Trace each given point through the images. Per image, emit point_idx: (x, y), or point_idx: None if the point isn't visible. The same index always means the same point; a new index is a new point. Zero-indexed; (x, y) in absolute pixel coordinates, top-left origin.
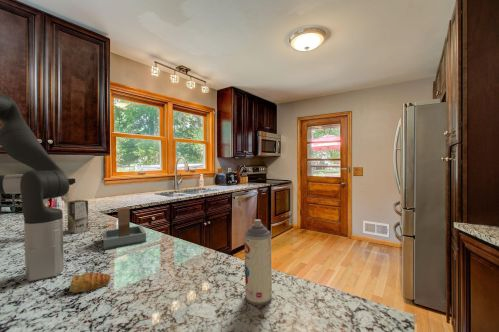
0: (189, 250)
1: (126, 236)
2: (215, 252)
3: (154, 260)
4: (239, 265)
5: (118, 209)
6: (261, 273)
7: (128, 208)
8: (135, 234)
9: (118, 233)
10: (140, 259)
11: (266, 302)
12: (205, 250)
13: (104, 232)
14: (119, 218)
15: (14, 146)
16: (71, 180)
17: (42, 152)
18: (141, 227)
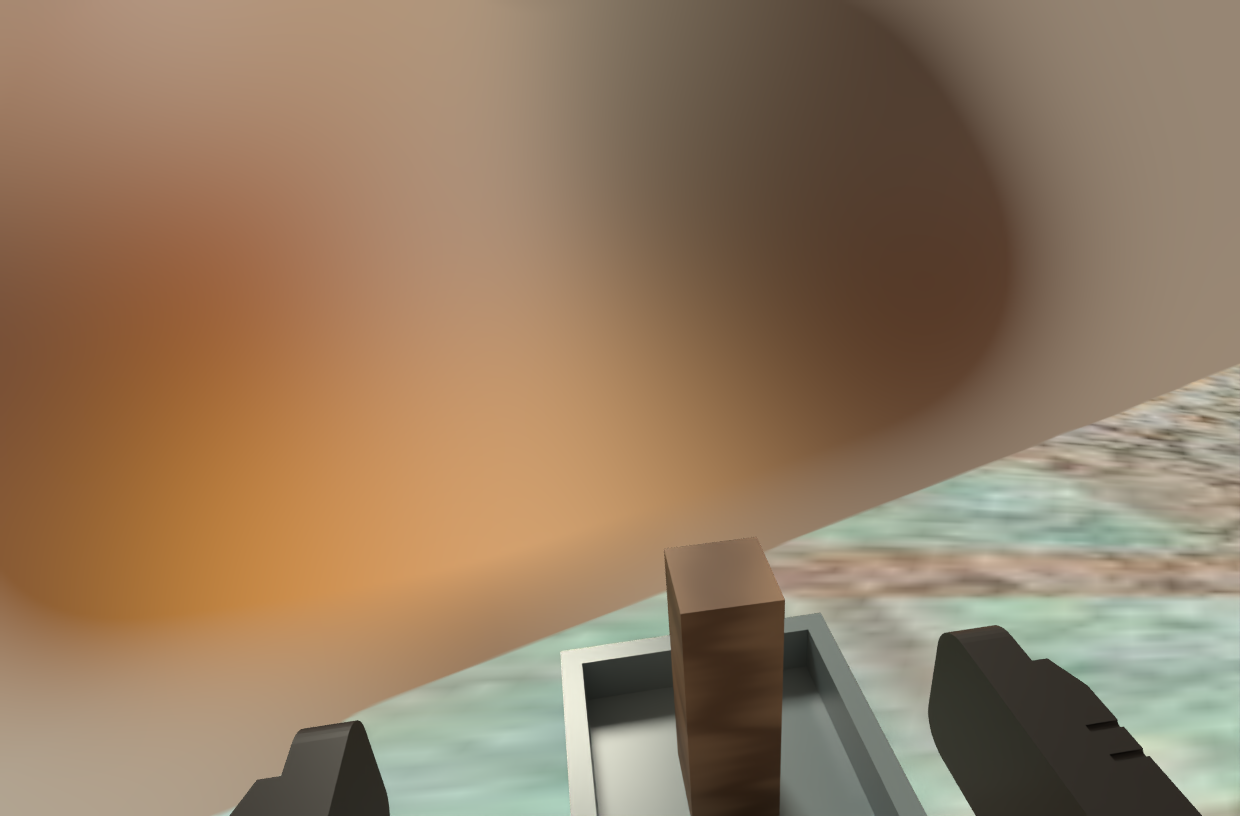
0: (1013, 504)
1: (872, 714)
2: (1047, 445)
3: (1165, 617)
4: (1186, 415)
5: (780, 599)
6: None
7: (757, 541)
8: (833, 665)
9: (727, 788)
10: (1157, 674)
11: None
12: (1018, 465)
13: None
14: (779, 664)
15: None
16: (1008, 662)
17: None
18: (633, 643)
